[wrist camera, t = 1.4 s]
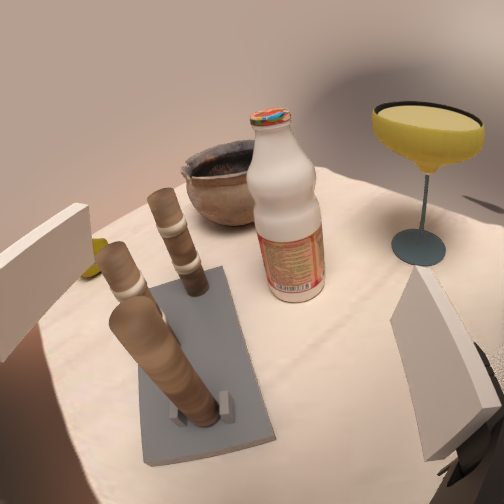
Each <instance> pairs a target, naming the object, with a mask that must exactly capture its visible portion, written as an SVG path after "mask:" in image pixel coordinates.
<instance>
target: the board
mask: <svg viewBox="0 0 504 504" xmlns="http://www.w3.org/2000/svg"><path fill="white" fill-rule="evenodd" d="M204 273H205V275H206V278H207V281H208V283H209V289H208V291H207V292H206V293H205V294H203V295H202V296H199V297H191V296H189V295H188V294H187V292H186V290H185V287H184V285H183V283H182V281H181V279H178V280H175V281H172V282H168V283H165V284H162V285H159V286H156V287H152V288H149V290H150V292H151V294H152V296H153V297H154V299H155V301H156V303H157V304H158V306H159V308H160V309H161V310H162V311H163V313H164V314H165V316H166V318H167V320H168V323H169V325H170V327H171V328H172V330H173V332H174V333H175V335H176V337H177V338H178V340H179V342H180V344H181V349H182V351H183V352H184V354H185V356H186V357H187V359H188V360H189V362H190V363H191V365H192V366H193V368H194V369H195V371H196V372H197V374H198V375H199V377H200V378H201V380H202V381H203V383H204V384H205V385H206V387H207V388H208V390H209V391H210V393H211V394H212V396H213V397H214V398H215V400H216V401H217V403H218V404H219V406H220V414H219V417H218V419H217V420H216V421H215V422H214V423H212V424H211V425H208V426H197V425H195V424H193V423H192V422H191V421H190V420H189V419H188V418H187V417H186V416H185V415H184V414H183V413H182V412H181V411H180V410H179V409H178V408H177V407H176V406H175V405H174V404H173V403H172V401H171V400H170V399H169V398H168V397H167V396H166V395H165V394H164V393H163V392H162V391H161V390H160V389H159V387H158V386H157V385H156V384H155V383H154V382H153V381H152V380H151V378H150V377H149V376H148V375H147V374H146V373H145V372H144V370H143V369H142V368H141V367H140V366H139V365H138V379H139V406H140V424H141V437H142V449H143V459H144V463H145V464H147V465H149V466H151V467H152V466H160V465H167V464H174V463H180V462H186V461H192V460H197V459H202V458H207V457H212V456H216V455H221V454H225V453H230V452H234V451H238V450H242V449H245V448H249V447H253V446H257V445H260V444H264V443H267V442H270V441H274V440H276V438H275V435H274V432H273V429H272V426H271V423H270V420H269V417H268V414H267V411H266V408H265V404H264V401H263V398H262V395H261V392H260V389H259V386H258V382H257V379H256V376H255V373H254V370H253V367H252V363H251V360H250V357H249V354H248V350H247V347H246V344H245V340H244V337H243V334H242V331H241V327H240V324H239V321H238V317H237V314H236V310H235V307H234V304H233V300H232V297H231V293H230V290H229V286H228V283H227V279H226V276H225V273H224V270H223V267H222V266H220V267H216V268H213V269H210V270H207V271H204Z"/></svg>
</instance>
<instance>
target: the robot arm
mask: <svg viewBox="0 0 504 504" xmlns="http://www.w3.org/2000/svg"><path fill="white" fill-rule="evenodd" d="M94 262H95V260H94V252H93V244H92V235H91V226H90V214H89V205H86V204H80V203H74V204H72V205H71V206H69V207H68V208H66V209H64V210H63V211H61V212H60V213H58V214H56V215H55V216H53V217H52V218H50V219H49V220H47V221H46V222H44V223H43V224H41V225H40V226H38V227H37V228H35V229H34V230H32V231H31V232H30V233H28V234H27V235H25V236H24V237H22V238H21V239H20V240H18V241H17V242H16V243H14V244H13V245H12V246H10V247H9V248H7V249H6V250H5V251H3V252H2V253H1V254H0V362H2V363H3V362H4V361H5V359H6V358H7V357H8V356H9V355H10V353H11V352H12V351H13V350H14V349H15V347H16V346H17V345H18V344H19V343H20V341H21V340H22V339H23V338H24V337H25V335H26V334H27V333H28V332H29V331H30V330H31V329H32V327H33V326H34V325H35V324H36V323H37V322H38V321H39V320H40V319H41V317H42V316H43V315H44V314H45V313H46V312H47V311H48V310H49V309H50V308H51V306H52V305H53V304H54V303H55V302H56V301H57V300H58V299H59V298H60V297H61V296H62V295H63V294H64V293H65V292H66V291H67V290H68V289H69V287H70V286H71V285H72V284H73V283H74V282H75V281H76V280H77V279H78V278H79V277H80V276H81V275H82V274H83V273H84V272H85V271H86V270H87V269H88V268H89V267H90V266H91V265H92V264H93V263H94ZM390 322H391V326H392V329H393V332H394V335H395V339H396V342H397V345H398V349H399V352H400V356H401V359H402V363H403V366H404V370H405V374H406V378H407V382H408V386H409V390H410V394H411V398H412V402H413V406H414V411H415V415H416V420H417V424H418V429H419V434H420V439H421V445H422V450H423V456H424V462H426V461H434V460H442V459H445V458H446V457H447V456H449V455H450V454H451V453H452V452H454V451H455V450H456V451H457V455H458V457H457V458H456V459H455V460H454V461H452V462H451V463H450V464H448V465H447V466H446V467H444V468H443V469H442V470H440V472H439V473H438V474H437V475H438V476H440V475H442V474H443V473H445V472H446V471H447V470H448V471H447V473H446V475H445V477H443V481H442V483H441V484H440V486H439V488H438V490H437V492H436V493H435V495H434V497H433V498H432V500H431V502H430V503H429V504H504V394H503V392H502V390H501V387H500V385H499V383H498V380H497V378H496V377H494V375H495V374H494V372H493V370H492V367H490V363H489V361H488V359H487V357H486V355H485V353H484V352H483V351H482V350H481V348H480V347H479V346H478V345H477V344H476V343H475V342H473V341H472V339H471V337H470V335H469V333H468V332H467V330H466V328H465V326H464V324H463V322H462V320H461V319H460V317H459V315H458V313H457V311H456V310H455V308H454V306H453V304H452V303H451V301H450V299H449V297H448V296H447V294H446V292H445V291H444V289H443V287H442V286H441V284H440V282H439V281H438V279H437V278H436V276H435V274H434V273H433V271H432V270H431V268H427V267H422V266H417V265H415V266H414V268H413V271H412V273H411V275H410V278H409V280H408V282H407V285H406V287H405V289H404V291H403V294H402V296H401V298H400V300H399V302H398V304H397V307H396V309H395V311H394V313H393V315H392V317H391V319H390Z"/></svg>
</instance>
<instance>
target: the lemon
mask: <svg viewBox="0 0 504 504" xmlns="http://www.w3.org/2000/svg"><path fill="white" fill-rule="evenodd" d="M92 244H93V252H94V260H95V257H96V255H97V253H98V252H99V251H100V250H101V249H102V248H104V247H105V246H107V245H108V242H107V240H106V239H104V238H101V239H92ZM99 272H100V269H99V267H98V266H97V264H96V262H94V263H93V264H92V265H91V266H90V267H89V268H88V269H87V270H86V271H85V272H84V273H83V274H82V275H81V276H82V277H92V276H94V275H96V274H97V273H99Z"/></svg>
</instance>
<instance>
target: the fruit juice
mask: <svg viewBox="0 0 504 504" xmlns="http://www.w3.org/2000/svg"><path fill="white" fill-rule="evenodd" d="M250 122H251V125H252V128H253V129H254V130H255V143H254V151H253V157H252V161H251V164H250V166H249V168H248V171H247V175H246V181H247V187H248V190H249V192H250V194H251V196H252V198H253V199H254V202H255V205H254V210H253V214H254V222H255V227H256V231H257V235H258V240H259V244H260V249H261V253H262V258H263V262H264V266H265V271H266V275H267V280H268V284H269V287H270V289H271V291H272V293H273V294H274V295H275V296H276V297H277V298H279V299H281V300H283V301H286V302H303V301H306V300H309V299H311V298H313V297H315V296H316V295H317V294H318V293H319V292H320V291H321V290H322V288H323V286H324V283H325V263H324V248H323V234H322V220H321V211H320V206H319V202H318V199H317V197H316V196H315V194H314V190H315V185H316V172H315V168H314V166H313V164H312V162H311V161H310V160H309V158H308V157H307V156H306V155H305V154H304V152H303V151H302V149H301V147H300V146H299V144H298V142H297V140H296V138H295V136H294V134H293V132H292V130H291V128H290V123H291V114H290V111H289V110H288V109H286V108H272V109H266V110H262V111H258V112H255V113H253V114H252V115H251V116H250Z"/></svg>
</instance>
